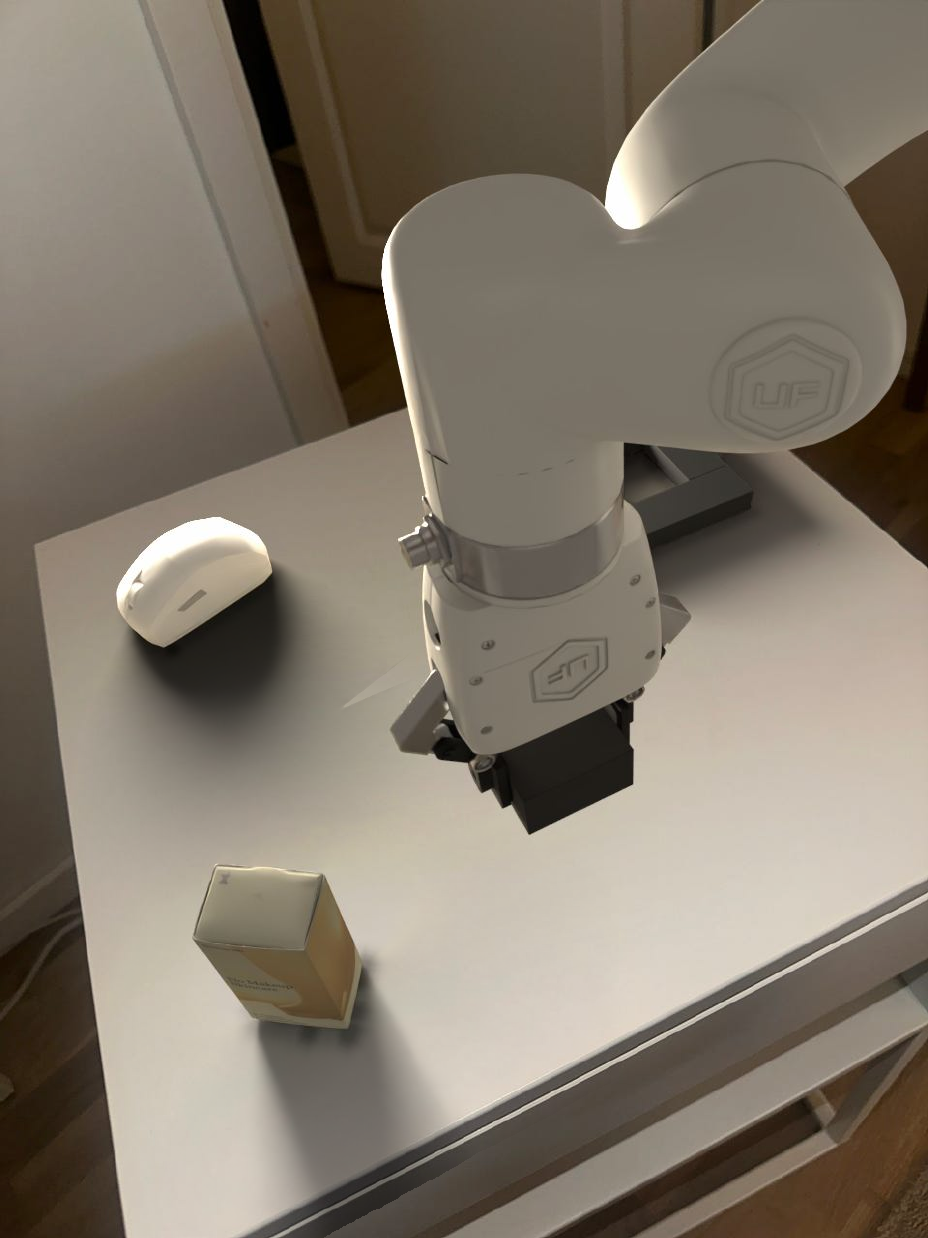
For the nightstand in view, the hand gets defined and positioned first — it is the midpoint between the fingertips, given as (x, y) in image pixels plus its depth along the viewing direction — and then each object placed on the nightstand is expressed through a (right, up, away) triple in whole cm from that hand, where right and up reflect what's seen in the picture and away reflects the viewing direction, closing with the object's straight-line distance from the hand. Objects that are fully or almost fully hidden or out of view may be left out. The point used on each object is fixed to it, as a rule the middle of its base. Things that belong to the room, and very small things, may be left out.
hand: (553, 756), depth 51 cm
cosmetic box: (-14, -15, +7) cm, 22 cm away
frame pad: (+9, +19, +33) cm, 39 cm away
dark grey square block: (0, -1, +1) cm, 1 cm away
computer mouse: (-27, +9, +30) cm, 41 cm away
